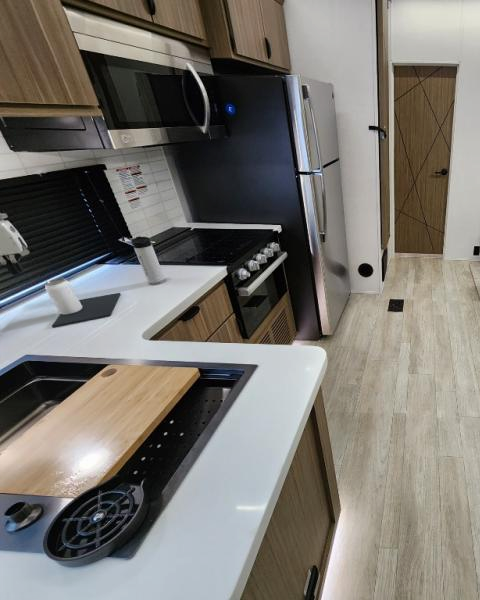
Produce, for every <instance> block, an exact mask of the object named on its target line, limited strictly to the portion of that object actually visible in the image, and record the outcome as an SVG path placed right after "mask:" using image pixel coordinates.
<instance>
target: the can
mask: <svg viewBox="0 0 480 600" xmlns="http://www.w3.org/2000/svg"><path fill="white" fill-rule="evenodd" d="M44 285H45V286H44V288H45V291H46V293H47V294H48V296H49V298H50V300H51V301H52V303H53V305H54V307H55V308H56V310H57V312H58V313H59V315H60V314H62V315H69V314H73V313H76V312H78V311H80V310H81V309H82V305H81V303H80V301H79V300H80V299H79V297H78V296H77V294H76V292H75V290H74V288H73V286H72V285H71V282H69V281H68V280H67V278H64V277H59V278H55V279H50V280H48V281H46V282H44Z"/></svg>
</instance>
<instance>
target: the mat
mask: <svg viewBox="0 0 480 600" xmlns="http://www.w3.org/2000/svg"><path fill="white" fill-rule="evenodd" d="M121 295H122V294H121V292H115V293H110V294H105V295H99V296H94V297H89V298H88V297H86V298H83V299H79V301H80V303H81V305H82V309H81V310H80V311H78V312H76V313H73V314H69V315H62V314H60V313H59V315H58V317H56V319H55V321H54V322H53V323H52V324H51V327H52V329H54V328H59V327H64V326H69V325H73V324H78V323H84V322H88V321H93V320H98V319H104V318H108V317H111V316H112V314H113V312H114V309H115V307H116V305H117V303H118V301H119V299H120V296H121Z"/></svg>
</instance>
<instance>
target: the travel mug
mask: <svg viewBox="0 0 480 600" xmlns="http://www.w3.org/2000/svg"><path fill="white" fill-rule="evenodd" d="M130 242H131V244H132V246H133V249H134V252H135V254H136V256H137V259H138V261H139V264H140V267H141V269H142V271H143V273H144V276H145V278H146V281H147V283H148V285H150V286H155V284H156V285H160V284H162V282H163V283H164V282H166V278H165V275H164V273H163V272H164V271H163V270H162V268H161V265H160V263H159V260H158V257H157V254H156V252H155V249H154V246H153V244H152V242H151V239H150V237H148V236H140V235H139V236H136V237H134V238H132V239H131V241H130Z"/></svg>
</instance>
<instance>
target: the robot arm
mask: <svg viewBox="0 0 480 600" xmlns="http://www.w3.org/2000/svg"><path fill="white" fill-rule="evenodd" d="M8 217H9V216H8V214H7V213H1V212H0V264H2V265H4V266H5V267H6V269H7V270H8V272H9V273H11V275H12V276H19V275H22V274H23V273H24V266H22V264H21V263H20V262H21V261H20V260H21V258H22V257H24V256H27V255H29V254H30V253H31V252H30V250H29V249H28V244H27V242H26V241H25V239H24V238H23V236H22V235H21V234H20V232H19V231H18V230H17V228H16V227H14V225H13V224H12V223H11V222H10V221H9V220H5V219H7V218H8Z"/></svg>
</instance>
